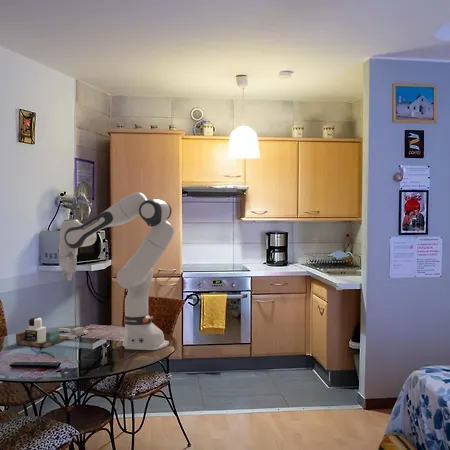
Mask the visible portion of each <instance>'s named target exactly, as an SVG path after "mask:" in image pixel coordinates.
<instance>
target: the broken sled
mask: <svg viewBox="0 0 450 450" xmlns="http://www.w3.org/2000/svg"><path fill="white" fill-rule="evenodd" d="M84 328H85V327H83V326H77V327H74V328H72V329H71V328H66V327H65V328H64V327H60V328H58V330H59V332H62V331H64V332H63V333H70V334H62V333H61V334H60V337H65V340H74V339H76V338H79V337H81V335H82V336H85V335H88V334H89V330H88V329H87V330H86V329H84ZM70 331H71V332H70ZM87 333H88V334H87ZM84 334H85V335H84ZM78 336H79V337H78ZM75 337H76V338H75Z"/></svg>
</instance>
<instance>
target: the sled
mask: <svg viewBox="0 0 450 450" xmlns="http://www.w3.org/2000/svg"><path fill="white" fill-rule="evenodd" d="M64 340H65V341H66V339H65V337H60V331H59V329H54V330H50V331H46V341H44V342H41V343H40V342H31V341H25V330H24V331H20V332H18V333H15V344H16V345H23V346H31V347H37V348H38V347H39V348H40V347H41V348H48V347H51V346H53V345H56V344H58V343H59V344H60V343H61V342H64Z"/></svg>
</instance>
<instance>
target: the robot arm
mask: <svg viewBox="0 0 450 450" xmlns="http://www.w3.org/2000/svg"><path fill="white" fill-rule="evenodd" d="M172 211H173V210H172V207H171V205H170V204H169V202H167V201H165V200H163V199H158V198H157V199H156V198H151V199H150V198H149V199H148V198H147V197H146V195H145V194H143V193H142V192H140V191H139V192H138V191H136V192H133V193H130V194H129V195H126V196H124V197H123V198H121V199H120V200H118V201H117V202H115V203H113V205H111V206H109V207H108V208H106V210H104V211H103V212H101V213H99V214H98V215H97V216H95V217H93V218H92V219H89V220H88V221H86V222H84V223H81V221H79V220H78V219H76V218H71V219H65V220H64V219H63V221H62V222H61V225H60V229H59V238H60V241H59V244H58V245H59V246H58V249H57V253H58V265H59V267H60V268H61V272H62V278H66V280H67V281H68V282H69V281H72V279H73V274H74V273H76V272H77V267H78V266H77V263H78V261H77V256H78V251H79V250H78V249H79V248H82V247H84V248H85V247H90V246H92V245H94V244H95V243H96V241H97V238H98V236H97V232H99V231H100V230H103V229H106V228H109V227H115V226H116V227H117V226H122V225H125V224H127V223H129V222H131V221H133V220H134V219H135V218H137V217H139V216H140V218H141V219H142V220H143V221H144V222H145V223H146V225H147V226H148V227H150V229H149V231H148V233H147V234H146V235H145V238H144V239H143V241H142V242H141V244H140V245H139V247H138V248H137V250H136V252H134V254H133V255H132V256H131V257H130V258H129V259H128V260H127V262H126V263H125V264H124V265H123V267H122V268H121V269H119V270H118V272H117V273H116V281H117V283H118V285H119V286H120V287H122V288H124V289H127V293H126V296H125V299H124V316H123V318H124V319H123V321H124V322H123V323H124V335H123V341H122V344H121V345H122V347H124V349H125V350H140V351H141V350H143V351H156V350H161V349H164V348H165V347H167V346H169V345H170V342H169V340H165V335H164V333H163V330H161V329H160V328H159V327H158V326H157V325H155V323H153V322H152V320H153V319H154V316H150V314H149V294H150V287H151V284H152V283H151V282H152V279H153V277H154V268H153V267H154V266H155V265H156V264H157V263H158V262H159V260H160V259H161V257H162V255H163V254H164V252H165V250H166V249H167V248H168V246H169V244H170V242H171V239H172V237H173V235H174V233H175V229H174V226H173V225H172V224H171V222H169V221H168V220H169V219H170V217H171V215H172Z"/></svg>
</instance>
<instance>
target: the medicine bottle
mask: <svg viewBox="0 0 450 450" xmlns="http://www.w3.org/2000/svg"><path fill="white" fill-rule="evenodd" d="M42 319H43V318H41V317H32V318H30V319H29V320H28V327H27V328H26V329H24V331H25V341H31V342H40V343H44V342H46V332H47V326H43V320H42Z"/></svg>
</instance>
